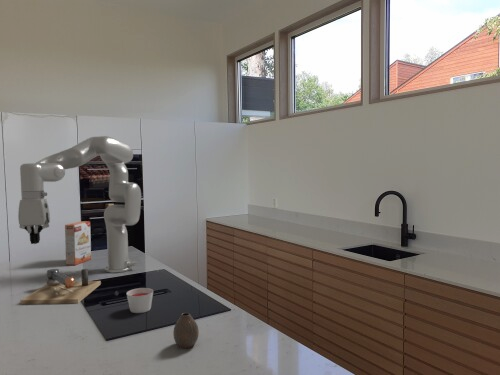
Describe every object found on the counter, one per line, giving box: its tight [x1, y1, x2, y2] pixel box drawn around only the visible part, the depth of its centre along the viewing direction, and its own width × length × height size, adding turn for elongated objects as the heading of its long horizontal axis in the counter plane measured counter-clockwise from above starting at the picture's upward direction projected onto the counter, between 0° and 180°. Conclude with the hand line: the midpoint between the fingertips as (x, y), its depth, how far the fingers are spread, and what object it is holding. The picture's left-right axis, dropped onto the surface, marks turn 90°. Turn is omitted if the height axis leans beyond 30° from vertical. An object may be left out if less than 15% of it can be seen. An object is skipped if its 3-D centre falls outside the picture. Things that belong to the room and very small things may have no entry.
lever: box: [46, 268, 75, 288], centre depth 158 cm, size 22×4×3 cm, turn 45°
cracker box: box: [64, 220, 92, 266], centre depth 209 cm, size 14×6×21 cm, turn 168°
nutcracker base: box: [19, 268, 102, 305], centre depth 157 cm, size 21×23×8 cm
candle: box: [126, 287, 154, 314], centre depth 138 cm, size 9×9×6 cm
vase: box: [172, 312, 199, 349], centre depth 110 cm, size 7×7×9 cm
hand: (35, 243), depth 152 cm, fingers closed
